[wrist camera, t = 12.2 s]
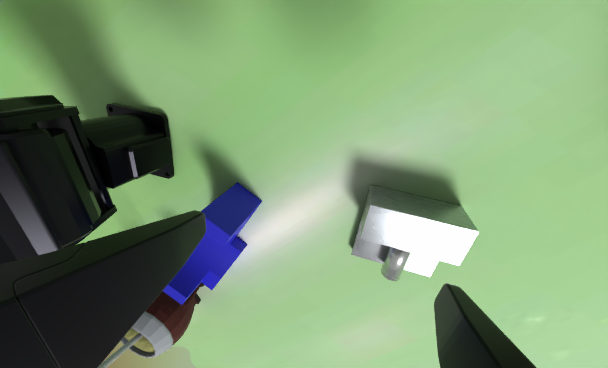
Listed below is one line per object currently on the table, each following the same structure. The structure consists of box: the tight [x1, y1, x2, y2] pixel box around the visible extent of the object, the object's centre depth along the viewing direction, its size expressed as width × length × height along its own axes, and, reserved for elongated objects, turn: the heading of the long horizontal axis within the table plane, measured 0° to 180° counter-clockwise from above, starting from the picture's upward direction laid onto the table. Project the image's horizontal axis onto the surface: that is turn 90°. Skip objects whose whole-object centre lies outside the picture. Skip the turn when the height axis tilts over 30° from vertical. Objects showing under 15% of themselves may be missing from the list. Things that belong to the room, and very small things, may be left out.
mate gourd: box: [98, 283, 204, 368], centre depth 26 cm, size 8×8×15 cm
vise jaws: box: [351, 185, 479, 281], centre depth 14 cm, size 7×30×4 cm, turn 172°
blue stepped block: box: [163, 182, 262, 305], centre depth 24 cm, size 12×4×6 cm, turn 145°
